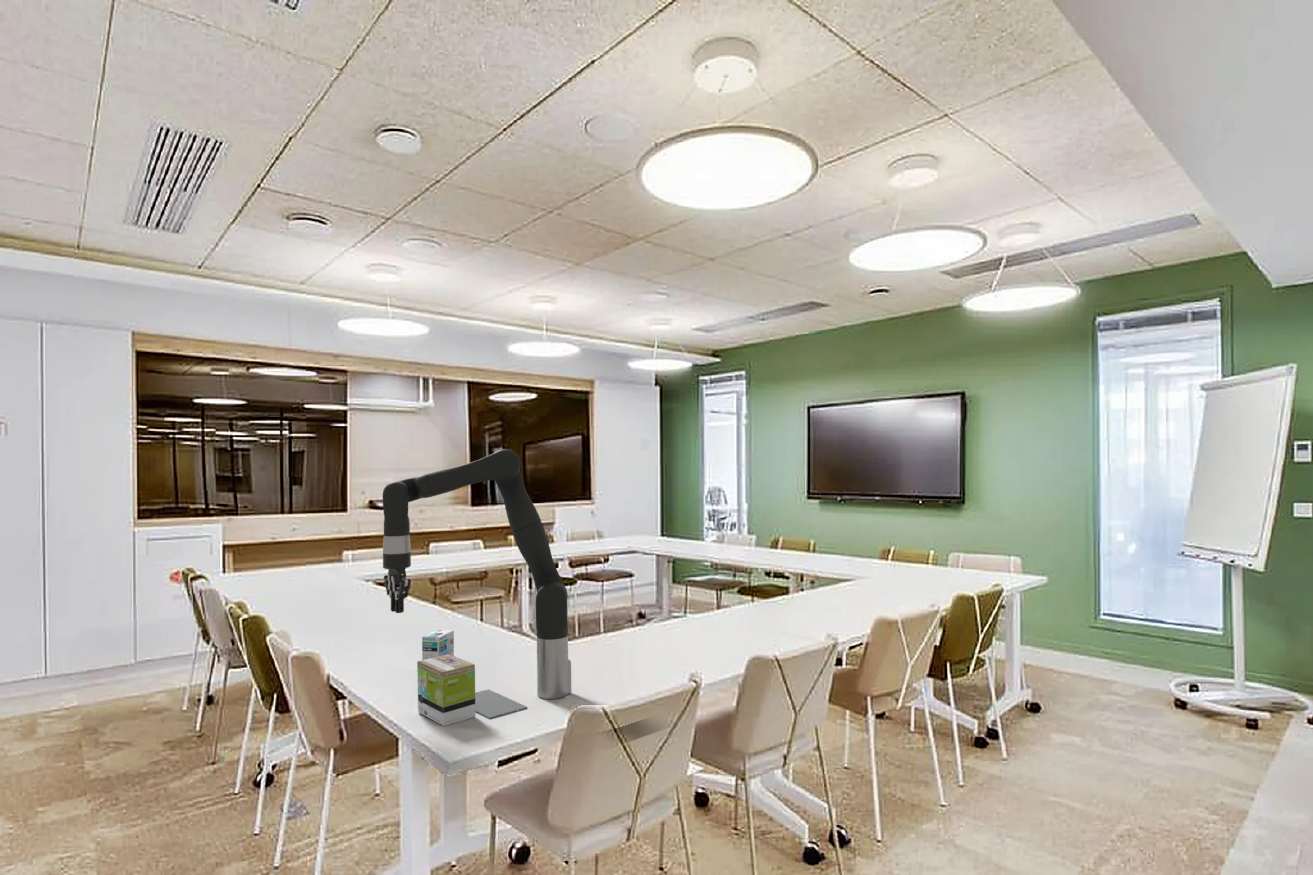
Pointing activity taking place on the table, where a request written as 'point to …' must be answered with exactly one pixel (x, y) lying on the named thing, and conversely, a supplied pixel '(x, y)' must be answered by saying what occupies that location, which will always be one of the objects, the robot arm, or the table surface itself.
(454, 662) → the tea box
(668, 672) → the table surface
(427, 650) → the light bulb box
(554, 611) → the robot arm
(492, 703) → the mat
